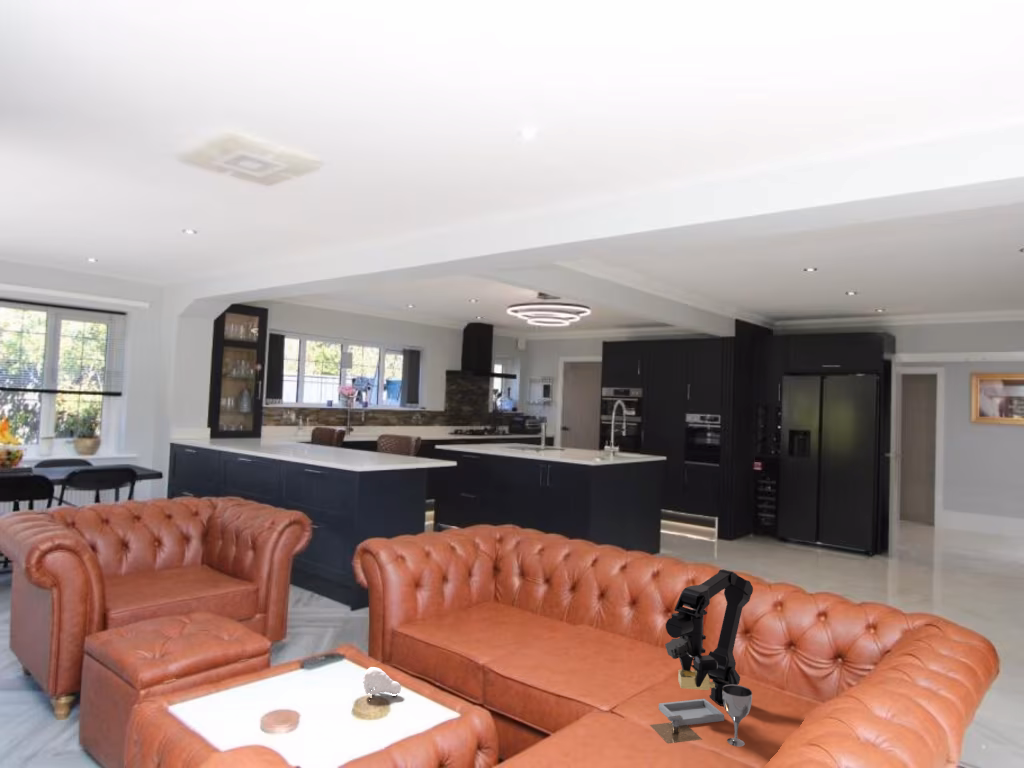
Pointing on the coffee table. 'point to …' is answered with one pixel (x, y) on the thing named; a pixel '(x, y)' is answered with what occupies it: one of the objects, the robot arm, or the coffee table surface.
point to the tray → (692, 711)
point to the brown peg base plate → (675, 731)
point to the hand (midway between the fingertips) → (692, 681)
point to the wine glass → (736, 707)
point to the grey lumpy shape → (379, 682)
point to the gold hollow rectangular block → (693, 680)
